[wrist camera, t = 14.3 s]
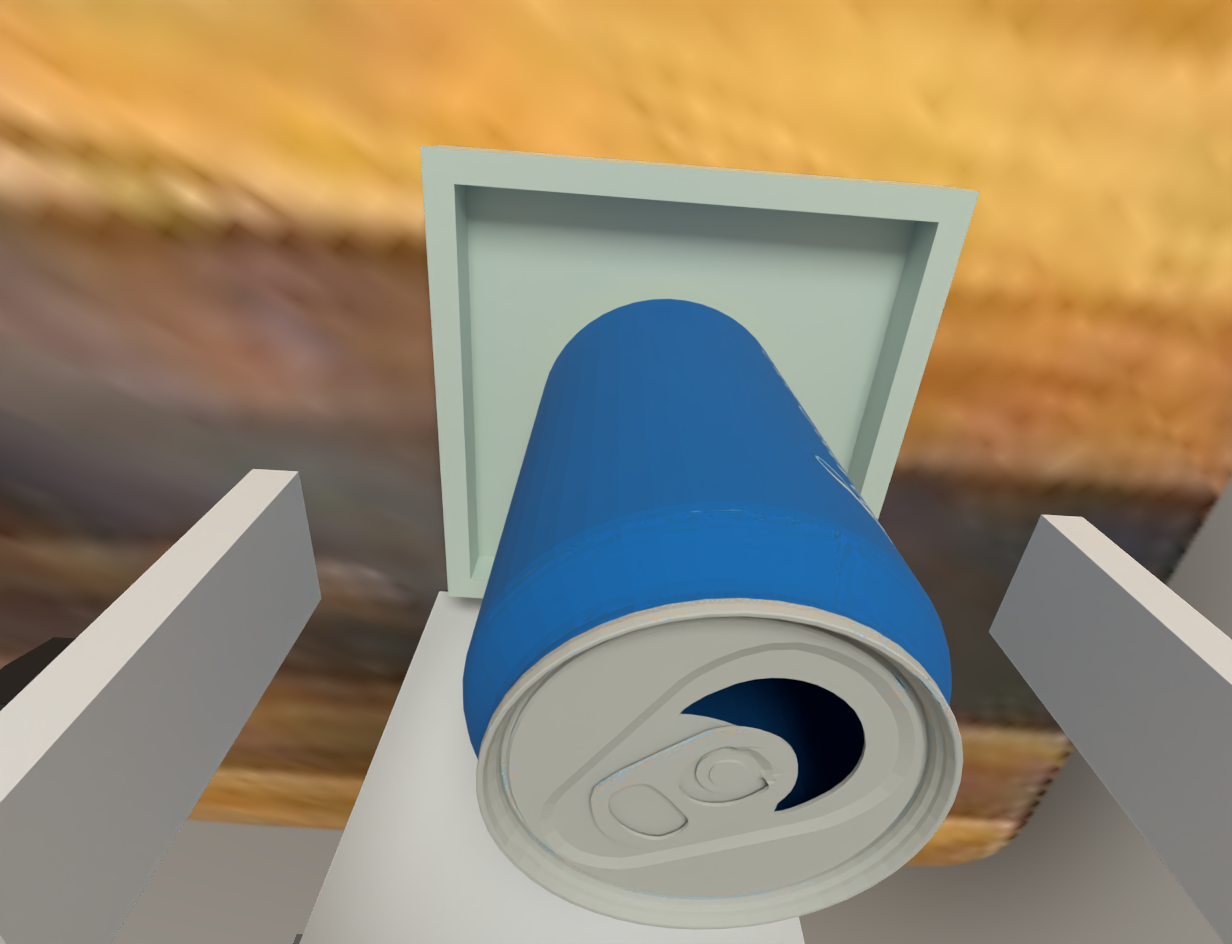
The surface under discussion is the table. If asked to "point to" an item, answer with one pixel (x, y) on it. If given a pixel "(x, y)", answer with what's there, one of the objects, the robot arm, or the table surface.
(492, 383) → the tray
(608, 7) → the table surface
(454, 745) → the block
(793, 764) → the beverage can
